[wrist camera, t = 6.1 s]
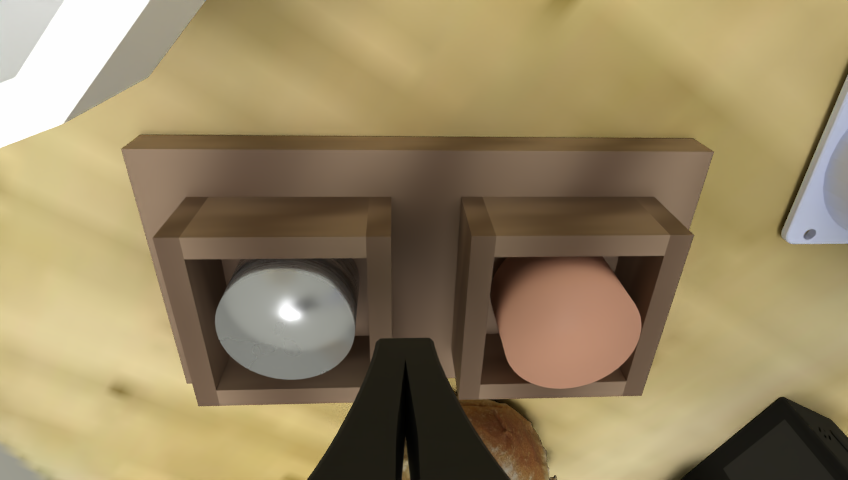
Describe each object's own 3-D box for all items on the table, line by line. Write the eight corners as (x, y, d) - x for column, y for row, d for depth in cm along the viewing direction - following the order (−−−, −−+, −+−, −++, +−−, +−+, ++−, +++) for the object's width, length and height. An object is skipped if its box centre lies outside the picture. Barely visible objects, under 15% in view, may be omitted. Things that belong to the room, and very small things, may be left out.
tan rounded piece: (621, 236, 19) (656, 281, 17) (597, 334, 22) (624, 387, 19) (495, 237, 19) (512, 282, 17) (485, 336, 22) (497, 390, 19)
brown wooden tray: (693, 138, 20) (765, 185, 16) (630, 351, 26) (673, 425, 22) (139, 134, 19) (73, 184, 15) (198, 360, 24) (160, 439, 20)
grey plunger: (356, 228, 20) (351, 271, 17) (361, 327, 22) (357, 378, 19) (228, 228, 19) (203, 272, 17) (247, 328, 22) (227, 381, 19)
